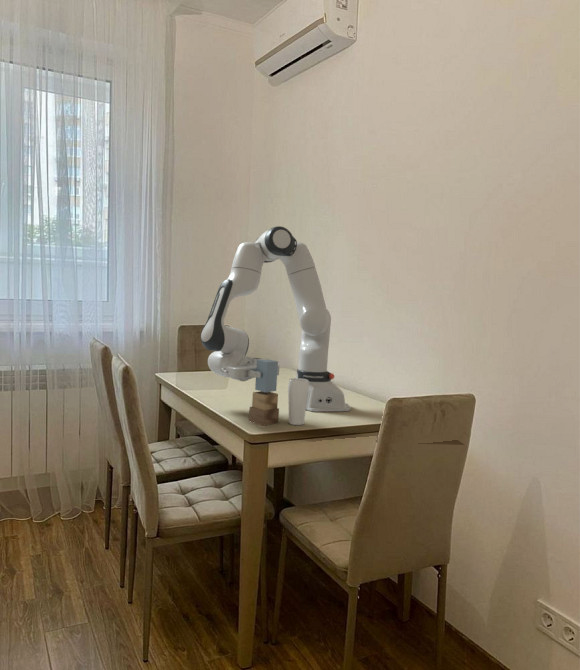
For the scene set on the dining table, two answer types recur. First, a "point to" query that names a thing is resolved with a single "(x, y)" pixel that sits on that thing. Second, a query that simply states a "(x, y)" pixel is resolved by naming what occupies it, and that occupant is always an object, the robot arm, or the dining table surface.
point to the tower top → (265, 400)
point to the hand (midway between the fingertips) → (268, 374)
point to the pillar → (267, 375)
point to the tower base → (263, 416)
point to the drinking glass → (297, 400)
